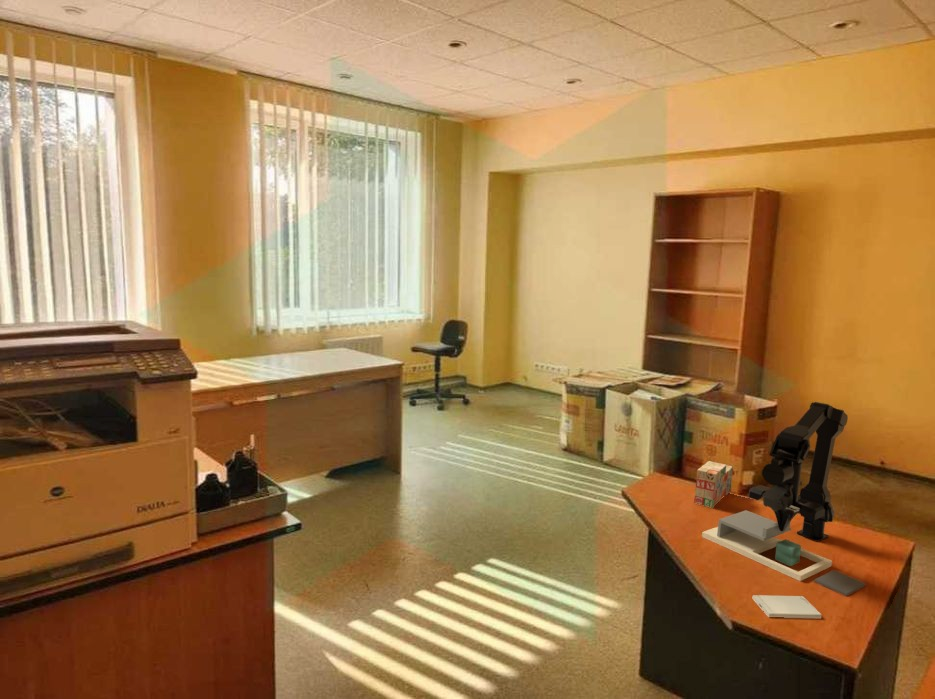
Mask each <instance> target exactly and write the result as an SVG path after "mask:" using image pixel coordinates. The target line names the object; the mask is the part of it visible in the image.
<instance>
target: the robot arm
mask: <svg viewBox="0 0 935 699" xmlns="http://www.w3.org/2000/svg"><path fill="white" fill-rule="evenodd" d="M847 423H848V414H846V413H845V411H844V410H843V409H841V408H840V409H839V408H836V407H833V405H830V404H829V403H824V402H818V401H814V402H813V401H812V402H811V403H810V405H809V408H808V409H807V411H806V412H805V413H804V414H803V415H802V417H800V418H799V420H798V421H797V422H796V423H795V424H794V425H793V426H792V425H791V426H787V427H785V428H784V429H783V430H781V431H780V432H779V433H777V435H776V438H775V440H774V442H773V444H772V447H771V449H770V451H769V456H770V457H773V458H771V460H770V463H769V462H768V464H766V465H764V467H762V468H763V469H762V470H761V473H762V474H761V475H762V478H763V480H764V481H765V482H766V483H768V484H769V485H771V487H768V486H765V485H762V484H759V485H756V486H753V487H751V488H750V489H749V490H748V498H750V499H752V500H756V501H760V500H761V499H762V502H763V503H762V504H763V506H764V507H768V508H770V509H771V510H772V511H773V512H774V516H775V517H776V522H778V526H779V529H780V531H782V532H783V531H785V529H786V528H787V526H788V525H789V523H790V524H791V521H792V520H793V519H794V518H795V516H796V515H797V514H798V515H800V517H803V522H802V528H801V529H800V530H798V531H796V534H798V535H800V536H803V537H805V538H808V539H810V540H813V541H816V542H820V541H823V540H825V539H827V538H829V534H827V533H825V528H826V527H825V526H826V523H833V521H834V517H835V510H834V508H833V505H832V503H831V499H832V495H831V493H830V491H829V488H828V487H827V486H828V479H829V474H830V469H831V464H832V459H833V453H834V446H835V441H836V439H837V438H838V437H839V436H840V435H841V434H842V433H843V432H844V429H845V426H846V425H847ZM815 433H816V442H815V446H814V451H813V457H812V462H811V468H810V473H809V474H810V475H809V480H808V483H807V484H806V485H805V486H804V487H802V488H801V489H800V486H802V485H803V481H801V476H802V475H801V474H802V466H803V461H805V460H806V457H807V456H808V453H809V451H810V449H811V442H810V441H811V440H810V438H811V437H812V436H813V435H814V434H815ZM799 491H800V492H799Z"/></svg>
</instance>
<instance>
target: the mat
mask: <svg viewBox="0 0 935 699" xmlns="http://www.w3.org/2000/svg"><path fill="white" fill-rule="evenodd" d="M813 582H814V583H816V584H818V585H821V586H822V587H825V588H827V589H829V590H832V591H834V592H836V593H839V594H841V595H842V596H844V597H848V596H849V595H851V594H853V593H855V592H856V591H858V590H860V589H862V588H863V587H865V586H866V584H867V583H866V582H863V581H861V580H858V579H856V578H854V577H851V576H849V575H847V574H845V573H842V572H839V571H837V570H835V569H833V570H831V571H829V572H826V573H824V574H823V575H820V576H819V577H817V578H816V577H815V578H814V580H813Z"/></svg>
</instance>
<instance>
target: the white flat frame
mask: <svg viewBox="0 0 935 699" xmlns="http://www.w3.org/2000/svg"><path fill="white" fill-rule="evenodd" d="M717 532H718V526H715V527H713V528H710V529H707V530H705V531H702V533H701V534H702V535H701V537H702V538H703V539H706V540H709V541H710V542H713V543H715V544H717V545H719V546H721V547H724V548H725V549H728V550H731V551H733V552H735V553H737V554H738V555H739V554H740V555H742V556H743V557H746V558H748V559H751V560H752V561H755V562H757V563H759V564H761V565H764V566H766V567H767V568H770V569H772V570H775V571H776V572H779V573H781V574H783V575H785V576H786V577H787V576H788V577H790V578H793V580H797V581H798V582H802V581H804V580H806V579H807V578H810V577H812V576H814V575H816V574H818V573H820V572H822V571H824V570H827V569H829V568H830V567H832V564H833V560H832V559H828V558H826V557H824V556H821V555H818V554H816V553H815V552H811V551H809V550H806V549H804V548H802V547H801V551H800V557H802V558H805V559H807V560H810V561H812V562H815V563H814V564H812V565H810V566H808V567H806V568H804V569H801V570H799V571H798V570H796V569H792V568H790V567H788V566H786V565H783V563H779V562H776V561H775V560H772V559H770V558H768V557H765V556H763V555H761V553H764V552H767V551H769V550H772V549H773V548H776V546H777V542H780V541H782V539H779V538H777V537H776V536H775V537H773V538H770V539H768V540H765V541H763V540H760V539H758V538H756V537H753V536H751V535H748V534H746V533H744V532H741V531H739V530H737V531H734V532H732V533H729V534H726V535H723V536H721V537H719V536H717Z"/></svg>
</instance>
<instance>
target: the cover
mask: <svg viewBox="0 0 935 699" xmlns="http://www.w3.org/2000/svg"><path fill="white" fill-rule="evenodd" d="M717 523H718V524H717V527H718V532H717V536H719V537H721V536H723V535H726V534H729V533H732V532H734V531H737V530H739V531H741V532H744V533H746V534H748V535H751V536H753V537H756V538H758V539H760V540H763V541H765V540H768V539H770V538H773V537H775V538H776V537H778V536H780V535H782V534H783V535H784V534H785V533H787V532H790V531H792V527H791V522H790V523H789V525H788V526H787V528H786V529H785V531H783V532H782V531H780V529H779V526H778V522H777V521H775V520H772V519H770V518H768V517H764V516H763V515H759V514H757V513H755V512H752V511H749V510H742V511H740V512H737V513H733V514H730V515H728V516H725V517H721V518H719V519H718V522H717Z"/></svg>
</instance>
